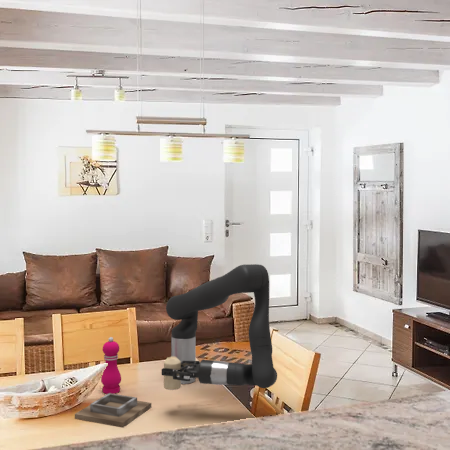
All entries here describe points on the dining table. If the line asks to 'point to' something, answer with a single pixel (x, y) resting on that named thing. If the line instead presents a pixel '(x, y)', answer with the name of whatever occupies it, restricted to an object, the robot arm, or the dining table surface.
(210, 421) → the dining table surface
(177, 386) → the candle
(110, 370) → the pepper mill
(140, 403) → the board
